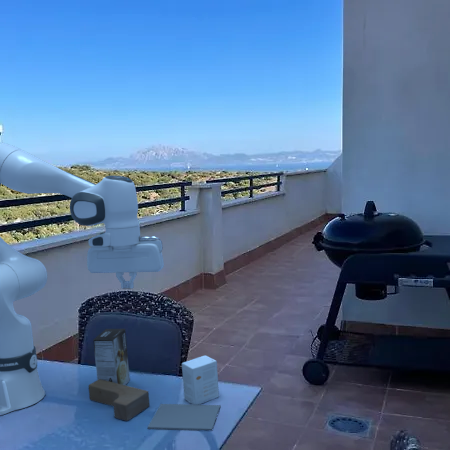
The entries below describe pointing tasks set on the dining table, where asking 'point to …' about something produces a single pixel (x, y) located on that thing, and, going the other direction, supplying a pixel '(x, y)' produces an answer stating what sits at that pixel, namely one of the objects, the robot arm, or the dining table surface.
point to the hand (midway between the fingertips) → (127, 288)
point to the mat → (184, 417)
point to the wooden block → (119, 398)
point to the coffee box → (112, 356)
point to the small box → (200, 380)
